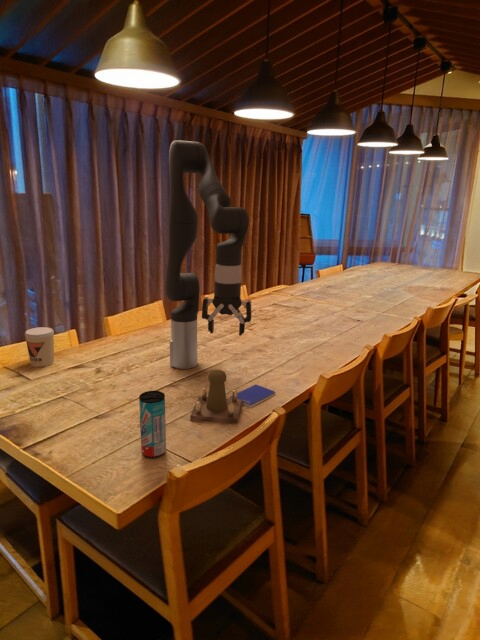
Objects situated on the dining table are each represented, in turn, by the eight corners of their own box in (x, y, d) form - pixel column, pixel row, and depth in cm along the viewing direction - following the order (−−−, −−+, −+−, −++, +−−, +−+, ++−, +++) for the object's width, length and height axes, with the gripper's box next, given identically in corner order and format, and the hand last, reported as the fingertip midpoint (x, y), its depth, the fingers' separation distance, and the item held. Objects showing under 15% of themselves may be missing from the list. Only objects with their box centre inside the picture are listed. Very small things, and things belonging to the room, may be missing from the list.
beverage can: (145, 444, 112) (143, 389, 108) (168, 446, 112) (167, 391, 108) (138, 458, 107) (135, 400, 102) (162, 460, 106) (161, 402, 102)
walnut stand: (190, 420, 124) (190, 404, 123) (198, 400, 136) (198, 385, 134) (237, 424, 123) (237, 407, 122) (241, 403, 135) (241, 388, 133)
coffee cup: (22, 365, 158) (18, 332, 155) (41, 356, 167) (38, 325, 163) (43, 369, 155) (39, 336, 152) (62, 360, 164) (59, 328, 160)
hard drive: (250, 404, 132) (275, 391, 141) (229, 395, 137) (255, 383, 146) (250, 409, 133) (275, 395, 142) (229, 400, 138) (254, 388, 147)
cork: (203, 403, 131) (203, 368, 128) (223, 400, 133) (223, 366, 130) (210, 413, 125) (210, 377, 122) (230, 410, 128) (231, 374, 125)
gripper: (254, 278, 130) (251, 331, 135) (205, 275, 132) (204, 327, 137) (251, 284, 123) (248, 340, 128) (200, 280, 125) (199, 336, 130)
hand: (226, 333), depth 132 cm, fingers open, 8 cm apart
